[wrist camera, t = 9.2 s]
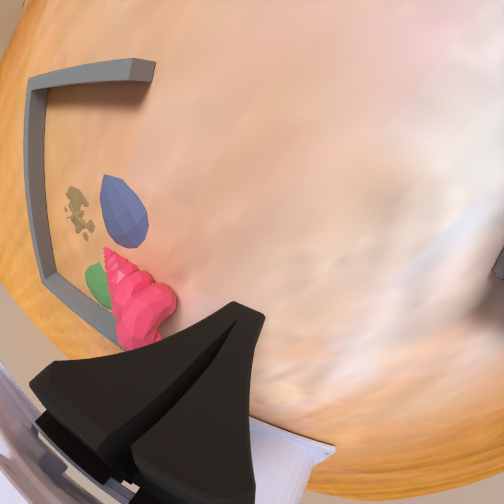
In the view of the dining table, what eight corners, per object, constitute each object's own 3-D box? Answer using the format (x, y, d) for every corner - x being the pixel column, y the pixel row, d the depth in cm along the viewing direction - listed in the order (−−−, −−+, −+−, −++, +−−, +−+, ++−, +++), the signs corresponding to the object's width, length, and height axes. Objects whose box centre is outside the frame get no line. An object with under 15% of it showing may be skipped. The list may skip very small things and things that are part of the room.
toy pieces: (197, 179, 12) (125, 207, 8) (192, 352, 17) (155, 398, 13) (60, 157, 15) (8, 173, 11) (79, 287, 20) (42, 313, 17)
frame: (141, 341, 18) (129, 353, 17) (53, 276, 21) (42, 283, 20) (155, 61, 10) (132, 57, 8) (44, 76, 12) (28, 78, 11)
